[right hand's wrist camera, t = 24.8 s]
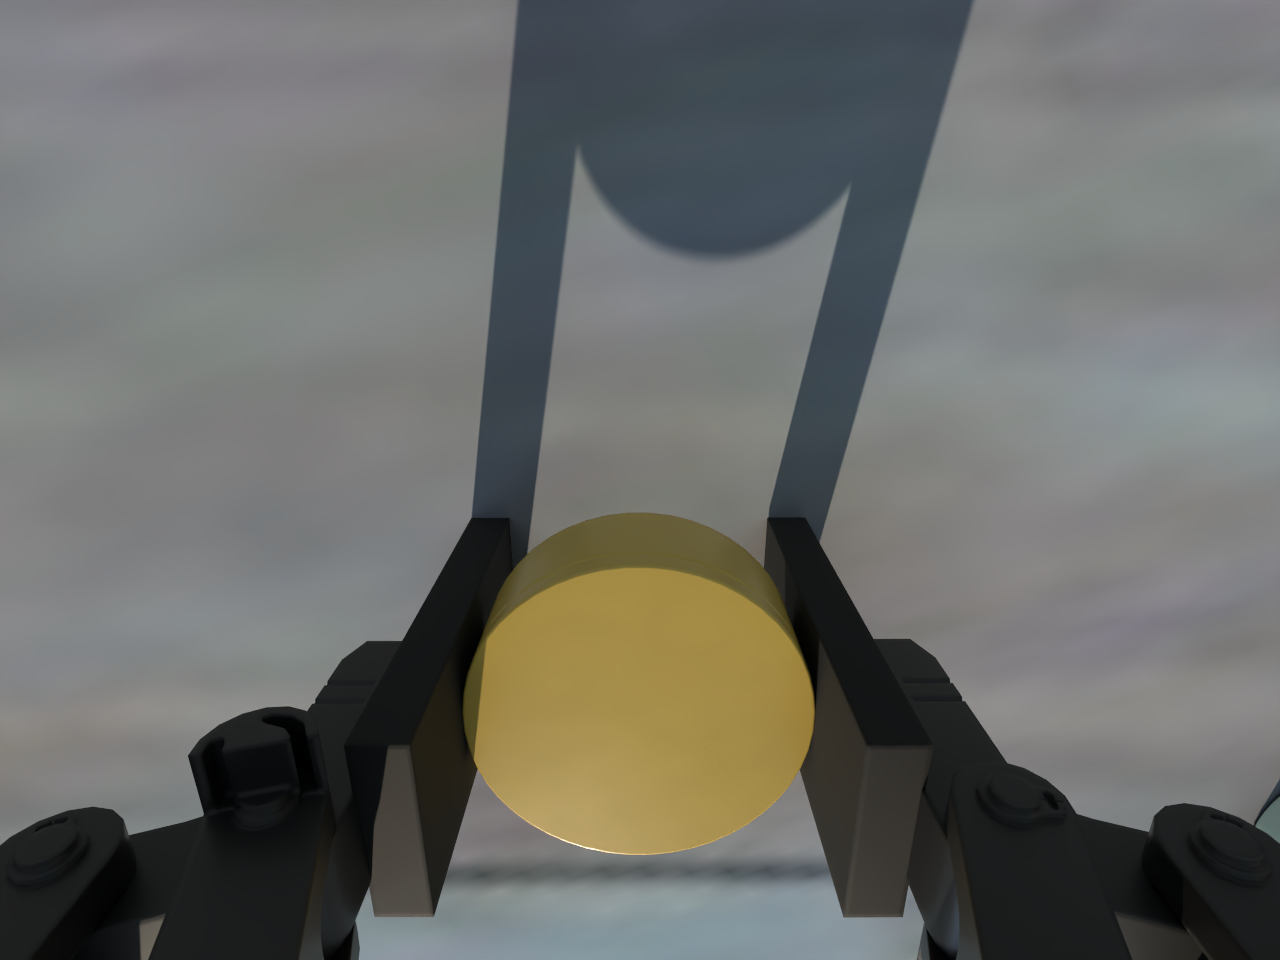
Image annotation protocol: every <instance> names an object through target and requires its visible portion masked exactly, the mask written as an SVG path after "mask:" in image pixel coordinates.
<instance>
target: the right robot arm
mask: <svg viewBox="0 0 1280 960" xmlns="http://www.w3.org/2000/svg"><path fill="white" fill-rule="evenodd" d="M764 569H765V571H766V572H767V573H768V574H769V576H770V577H771V579H772V580H773V582H774V584H775V586H776V587H777V589H778V591H779V592H780V595H781V597H782V600H783V602H784V605H785V607H786V610H787V613H788V615H789V618H790V621H791V623H792V626H793V629H794V631H795V634H796V637H797V640H798V642H799V645H800V648H801V650H802V653H803V656H804V659H805V661H806V664H807V666H808V669H809V672H810V675H811V680H812V684H813V689H814V695H815V719H814V729H813V734H812V738H811V742H810V746H809V750H808V752H807V754H806V757H805V759H804V761H803V764H802V766H801V768H800V772H801V775H802V779H803V782H804V785H805V789H806V792H807V795H808V799H809V802H810V806H811V809H812V812H813V816H814V819H815V822H816V826H817V829H818V832H819V836H820V839H821V843H822V846H823V849H824V853H825V856H826V859H827V863H828V866H829V869H830V873H831V876H832V880H833V883H834V886H835V890H836V893H837V896H838V900H839V903H840V907H841V910H842V913H843V917H903V913H904V907H905V901H906V896H907V890H908V885H909V886H910V888H911V891H912V893H913V896H914V898H915V901H916V903H917V905H918V908H919V910H920V913H921V915H922V918H923V920H924V926H923V931H922V936H921V942H920V947H919V952H918V957H917V960H1280V843H1278V842H1277V841H1276V840H1275V839H1274V838H1272V837H1271V836H1270V835H1269V834H1267V833H1266V832H1264V831H1262V830H1260V829H1259V828H1257V827H1255V826H1253V825H1251V824H1250V823H1248V822H1246V821H1244V820H1242V819H1241V818H1239V817H1236V816H1233V815H1230V814H1228V813H1225V812H1222V811H1219V810H1217V809H1214V808H1211V807H1206V806H1199V805H1193V804H1186V803H1183V804H1177V805H1170V806H1165V807H1164V808H1163V809H1161V810H1160V811H1159V812H1158V813H1157V814H1156V815H1155V816H1154V818H1153V821H1152V824H1151V827H1150V831H1149V832H1146V831H1142V830H1138V829H1133V828H1129V827H1125V826H1121V825H1116V824H1112V823H1108V822H1104V821H1099V820H1095V819H1091V818H1088V817H1085V816H1082V815H1078V814H1076V812H1075V811H1074V809H1073V808H1072V806H1071V804H1070V803H1069V801H1068V800H1067V798H1066V797H1065V795H1063V794H1062V793H1061V792H1060V791H1059V790H1058V789H1056V788H1055V787H1054V786H1053V785H1052V784H1051V783H1049V782H1048V781H1047V780H1046V779H1044V778H1042V777H1040V776H1038V775H1036V774H1034V773H1032V772H1030V771H1029V770H1027V769H1025V768H1022V767H1018V766H1015V765H1011V764H1008V763H1007V762H1006V761H1005V759H1004V758H1003V756H1002V755H1001V753H1000V752H999V750H998V749H997V747H996V746H995V745H994V743H993V742H992V740H991V739H990V737H989V736H988V734H987V733H986V731H985V730H984V728H983V727H982V725H981V724H980V723H979V721H978V720H977V718H976V717H975V715H974V714H973V712H972V711H971V709H970V708H969V706H968V705H967V703H966V702H965V701H962V696H961V695H960V693H959V692H958V690H957V689H956V687H955V686H954V684H953V683H950V679H949V677H948V676H947V674H946V673H945V671H944V670H943V668H942V667H941V665H940V664H939V662H938V661H937V659H936V658H935V657H934V656H933V655H931V654H930V653H928V652H927V651H926V650H924V649H923V648H922V647H920V646H919V645H917V644H916V643H915V642H913V641H912V640H911V639H873V637H872V636H871V634H870V632H869V630H868V629H867V627H866V625H865V623H864V621H863V620H862V618H861V616H860V614H859V613H858V611H857V609H856V607H855V606H854V604H853V602H852V600H851V598H850V597H849V595H848V593H847V591H846V590H845V588H844V586H843V584H842V583H841V581H840V579H839V577H838V575H837V574H836V572H835V570H834V568H833V567H832V565H831V563H830V561H829V559H828V558H827V556H826V554H825V552H824V551H823V549H822V547H821V545H820V544H819V542H818V540H817V538H816V536H815V535H814V533H813V531H812V529H811V528H810V526H809V524H808V522H807V521H806V519H805V518H767V533H766V548H765V562H764ZM512 571H513V566H512V552H511V538H510V525H509V518H471V520H470V522H469V523H468V525H467V527H466V529H465V531H464V532H463V534H462V536H461V538H460V539H459V541H458V543H457V545H456V547H455V548H454V550H453V552H452V554H451V555H450V557H449V559H448V561H447V563H446V564H445V566H444V568H443V570H442V571H441V573H440V575H439V577H438V579H437V580H436V582H435V584H434V586H433V587H432V589H431V591H430V593H429V594H428V596H427V598H426V600H425V602H424V603H423V605H422V607H421V609H420V610H419V612H418V614H417V616H416V618H415V619H414V621H413V623H412V625H411V626H410V628H409V630H408V632H407V634H406V635H405V637H404V639H403V641H367V642H365V643H364V644H363V645H361V646H360V647H359V648H357V649H356V650H355V651H353V652H352V653H351V654H349V655H348V656H346V657H345V658H344V659H342V661H341V662H340V664H339V665H338V667H337V668H336V670H335V671H334V672H333V674H332V675H331V677H330V678H329V680H328V684H327V686H324V687H323V689H322V690H321V692H320V693H319V695H318V696H317V698H316V699H315V704H312V705H311V706H310V708H309V709H308V711H305V710H301V709H297V708H293V707H267V708H263V709H259V710H255V711H251V712H248V713H244V714H241V715H239V716H237V717H235V718H233V719H231V720H228V721H226V722H224V723H222V724H220V725H218V726H217V727H216V728H214V729H213V730H212V731H210V732H209V733H208V734H206V735H205V736H204V737H203V738H201V739H200V740H199V741H198V743H197V744H196V745H195V747H194V748H193V750H192V751H191V752H190V754H189V755H188V758H189V761H190V765H191V768H192V772H193V776H194V779H195V783H196V786H197V790H198V794H199V797H200V801H201V804H202V808H203V812H204V815H203V817H199V818H196V819H193V820H190V821H187V822H183V823H179V824H175V825H170V826H166V827H162V828H158V829H154V830H150V831H145V832H141V833H137V834H133V835H128V832H127V829H126V826H125V823H124V820H123V818H121V817H120V816H119V815H118V814H117V813H116V812H115V811H113V810H111V809H104V808H98V807H89V808H82V809H76V810H69V811H66V812H63V813H60V814H57V815H55V816H52V817H49V818H46V819H44V820H41V821H38V822H37V823H35V824H33V825H31V826H29V827H28V828H26V829H24V830H22V831H21V832H19V833H17V834H15V835H13V836H12V837H10V838H9V839H8V840H6V841H5V842H4V843H3V844H1V845H0V960H359V950H360V946H359V939H358V931H357V926H356V921H355V919H356V917H357V915H358V912H359V910H360V907H361V905H362V902H363V900H364V897H365V895H366V892H367V890H368V887H369V888H370V893H371V899H372V904H373V910H374V916H375V917H434V914H435V911H436V907H437V904H438V901H439V897H440V894H441V891H442V887H443V884H444V880H445V877H446V874H447V870H448V867H449V863H450V860H451V857H452V853H453V850H454V847H455V843H456V840H457V836H458V833H459V830H460V826H461V823H462V819H463V816H464V813H465V809H466V806H467V803H468V799H469V796H470V792H471V789H472V786H473V782H474V779H475V776H476V772H477V769H478V768H477V766H476V764H475V761H474V759H473V757H472V755H471V752H470V750H469V746H468V743H467V739H466V735H465V731H464V723H463V714H462V706H463V691H464V687H465V682H466V677H467V673H468V671H469V668H470V665H471V663H472V660H473V657H474V655H475V652H476V650H477V647H478V644H479V642H480V639H481V637H482V634H483V631H484V629H485V626H486V624H487V621H488V618H489V616H490V613H491V611H492V608H493V605H494V603H495V600H496V598H497V595H498V593H499V591H500V589H501V588H502V586H503V584H504V582H505V581H506V579H507V577H508V576H509V575H510V573H511V572H512Z"/></svg>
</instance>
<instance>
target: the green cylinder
mask: <svg viewBox="0 0 1280 960" xmlns="http://www.w3.org/2000/svg"><path fill="white" fill-rule="evenodd" d="M1255 827H1257V828H1259V829H1260V830H1262V831H1264V832H1266V833H1267V834H1269V835H1270V836H1271V837H1272V838H1274V839H1275V840H1276V841H1277V842H1278V843H1280V796H1279V797H1278V798H1277V799H1276V800H1275V801H1274V802H1273V803H1272V804H1271V805H1270V806H1269V807H1268V808H1267V809H1266V810H1265V812H1264V813H1263V814H1262V816H1261V817H1260V819H1259V820H1258V822H1257V824H1256V825H1255Z"/></svg>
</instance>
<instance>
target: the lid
mask: <svg viewBox="0 0 1280 960" xmlns="http://www.w3.org/2000/svg"><path fill="white" fill-rule="evenodd" d="M462 714H463V723H464V731H465V735H466V739H467V743H468V746H469V750H470V752H471V755H472V757H473V759H474V761H475V764H476V766H477V768H478V770H479V771H480V773H481V774H482V776H483V778H484V779H485V781H486V783H487V784H488V785H489V786H490V788H491V789H492V790H493V791H494V792H495V794H496V795H497V796H498V797H499V798H500V799H501V800H502V801H503V802H504V803H505V804H506V805H507V806H508V807H509V808H510V809H511V810H512V811H513V812H515V813H516V814H517V815H519V816H520V817H521V818H523V819H524V820H526V821H527V822H528V823H530V824H531V825H533V826H535V827H537V828H538V829H540V830H542V831H544V832H545V833H547V834H549V835H552V836H554V837H556V838H559V839H561V840H563V841H566V842H568V843H571V844H575V845H578V846H581V847H584V848H588V849H593V850H598V851H603V852H608V853H618V854H628V855H650V854H661V853H671V852H676V851H681V850H686V849H691V848H694V847H697V846H701V845H704V844H707V843H710V842H713V841H715V840H718V839H720V838H722V837H725V836H727V835H729V834H731V833H733V832H735V831H736V830H738V829H740V828H742V827H744V826H745V825H747V824H749V823H750V822H751V821H753V820H754V819H755V818H757V817H758V816H760V815H761V814H762V813H764V812H765V811H766V810H767V809H768V808H769V807H770V806H771V805H772V804H773V803H774V802H775V801H777V800H778V799H779V797H780V796H781V795H782V794H783V793H784V791H785V790H786V789H787V788H788V787H789V785H790V784H791V783H792V781H793V779H794V778H795V776H796V774H797V773H798V771H799V770H800V768H801V766H802V764H803V761H804V759H805V757H806V754H807V752H808V750H809V746H810V742H811V738H812V734H813V729H814V719H815V695H814V689H813V684H812V680H811V675H810V672H809V669H808V666H807V664H806V661H805V659H804V656H803V653H802V650H801V648H800V645H799V642H798V640H797V637H796V634H795V631H794V629H793V626H792V623H791V621H790V618H789V615H788V613H787V610H786V607H785V605H784V602H783V600H782V597H781V595H780V592H779V591H778V589H777V587H776V586H775V584H774V582H773V580H772V579H771V577H770V576H769V574H768V573H767V572H766V571H765V569H764V568H763V567H762V566H761V564H760V563H759V562H758V561H757V560H756V559H755V558H754V557H753V556H752V555H751V554H749V553H748V552H747V551H746V550H745V549H744V548H743V547H741V546H740V545H738V544H737V543H736V542H734V541H733V540H731V539H730V538H729V537H727V536H725V535H723V534H721V533H719V532H717V531H716V530H714V529H712V528H710V527H707V526H704V525H702V524H699V523H697V522H694V521H691V520H687V519H683V518H679V517H675V516H671V515H663V514H655V513H623V514H615V515H607V516H603V517H599V518H595V519H591V520H587V521H584V522H581V523H579V524H576V525H574V526H571V527H568V528H566V529H564V530H562V531H560V532H559V533H557V534H555V535H553V536H551V537H549V538H548V539H547V540H545V541H544V542H542V543H541V544H540V545H538V546H537V547H535V548H534V549H533V550H532V551H531V552H530V553H529V554H527V555H526V556H525V557H524V558H523V559H522V560H521V561H520V562H519V563H518V564H517V566H516V567H515V568H514V570H513V571H512V572H511V573H510V575H509V576H508V577H507V579H506V581H505V582H504V584H503V586H502V588H501V589H500V591H499V593H498V595H497V598H496V600H495V603H494V605H493V608H492V611H491V613H490V616H489V618H488V621H487V624H486V626H485V629H484V631H483V634H482V637H481V639H480V642H479V644H478V647H477V650H476V652H475V655H474V657H473V660H472V663H471V665H470V668H469V671H468V673H467V677H466V682H465V687H464V691H463V706H462Z"/></svg>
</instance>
